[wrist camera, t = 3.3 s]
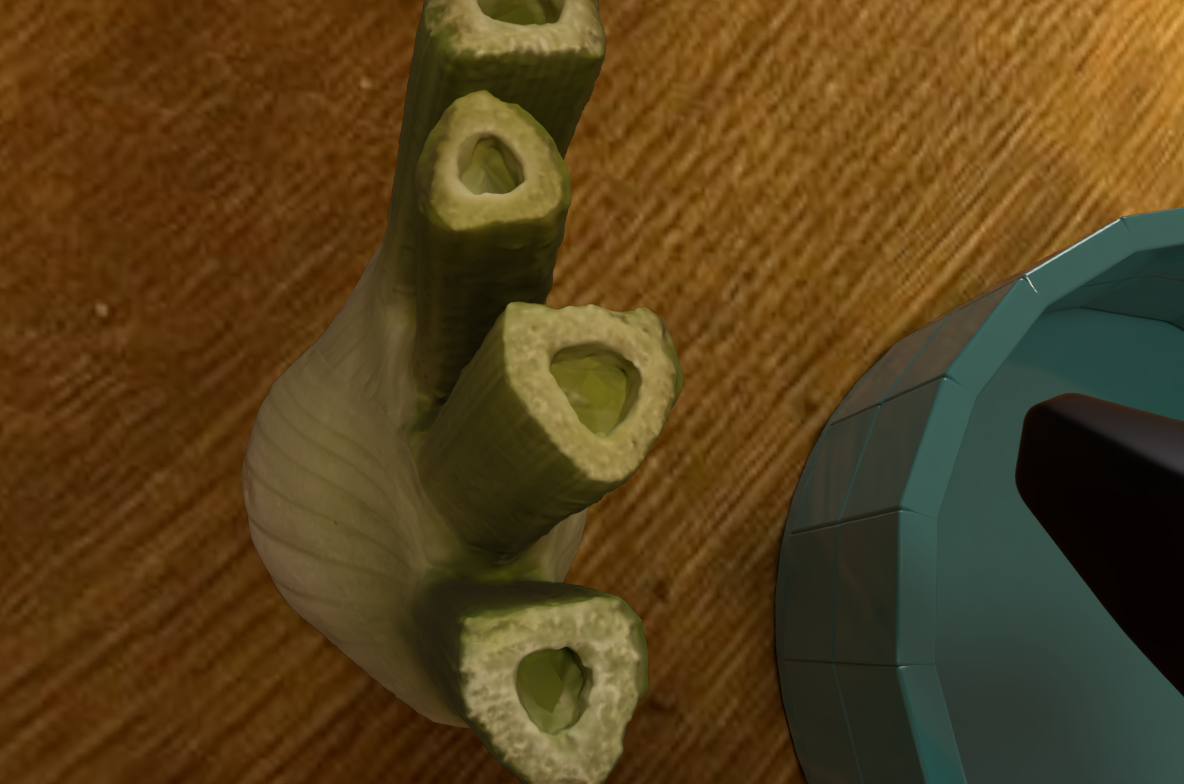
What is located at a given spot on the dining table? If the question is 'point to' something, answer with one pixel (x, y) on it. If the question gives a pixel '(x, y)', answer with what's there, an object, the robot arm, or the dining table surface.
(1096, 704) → the pan
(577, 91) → the fennel bulb
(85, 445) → the dining table surface
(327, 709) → the dining table surface
